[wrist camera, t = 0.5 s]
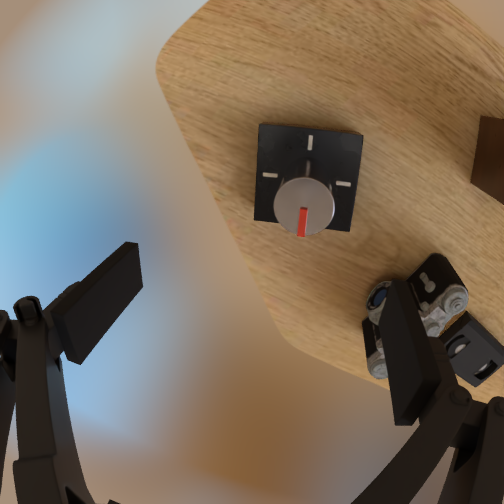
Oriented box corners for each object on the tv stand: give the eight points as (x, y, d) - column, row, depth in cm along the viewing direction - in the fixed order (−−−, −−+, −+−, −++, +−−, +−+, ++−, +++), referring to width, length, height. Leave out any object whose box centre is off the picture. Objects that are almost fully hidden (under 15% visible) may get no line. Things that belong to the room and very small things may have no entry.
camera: (420, 231, 34) (448, 275, 25) (453, 264, 35) (483, 311, 26) (338, 314, 41) (341, 370, 32) (374, 338, 41) (382, 393, 33)
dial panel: (263, 121, 32) (258, 123, 29) (359, 132, 31) (363, 135, 28) (258, 211, 37) (253, 221, 34) (347, 221, 35) (349, 232, 32)
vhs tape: (427, 347, 41) (430, 356, 39) (466, 311, 37) (471, 319, 35) (472, 379, 42) (475, 388, 40) (506, 349, 38) (511, 357, 37)
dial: (286, 154, 30) (275, 175, 22) (331, 159, 30) (339, 182, 21) (282, 197, 32) (270, 233, 24) (326, 202, 32) (330, 241, 23)
